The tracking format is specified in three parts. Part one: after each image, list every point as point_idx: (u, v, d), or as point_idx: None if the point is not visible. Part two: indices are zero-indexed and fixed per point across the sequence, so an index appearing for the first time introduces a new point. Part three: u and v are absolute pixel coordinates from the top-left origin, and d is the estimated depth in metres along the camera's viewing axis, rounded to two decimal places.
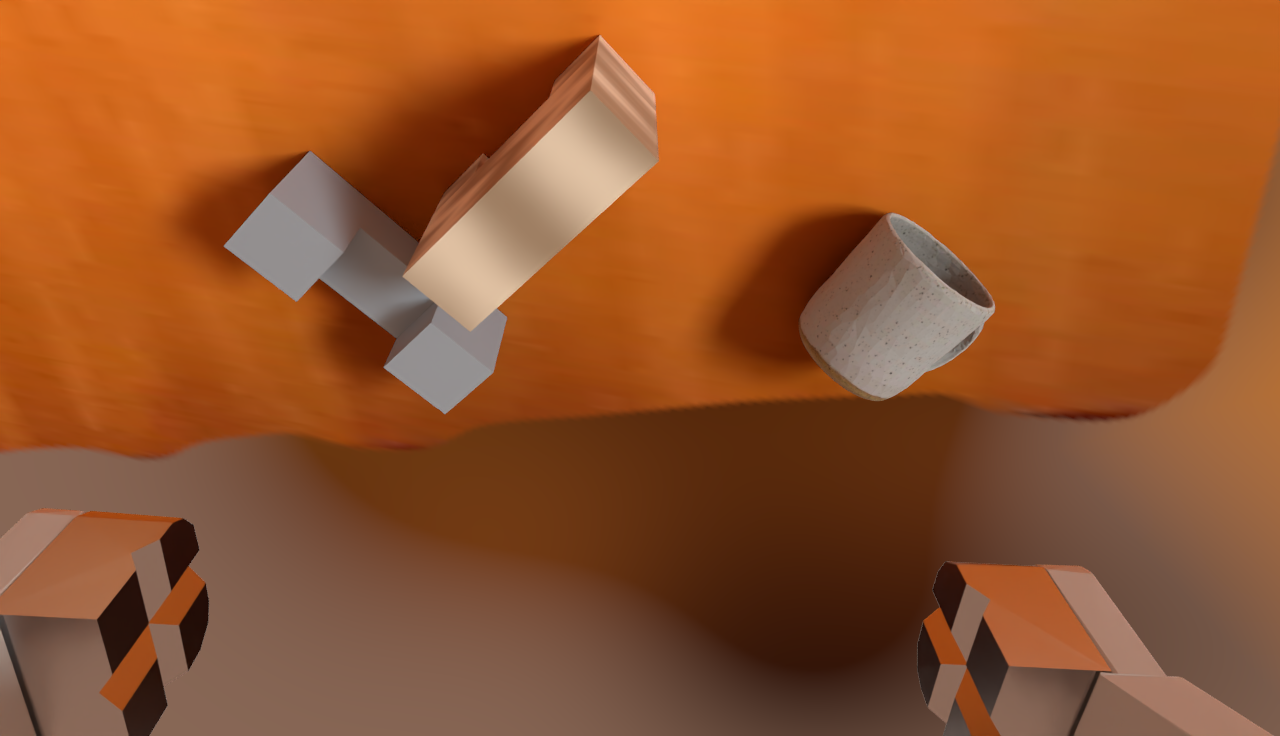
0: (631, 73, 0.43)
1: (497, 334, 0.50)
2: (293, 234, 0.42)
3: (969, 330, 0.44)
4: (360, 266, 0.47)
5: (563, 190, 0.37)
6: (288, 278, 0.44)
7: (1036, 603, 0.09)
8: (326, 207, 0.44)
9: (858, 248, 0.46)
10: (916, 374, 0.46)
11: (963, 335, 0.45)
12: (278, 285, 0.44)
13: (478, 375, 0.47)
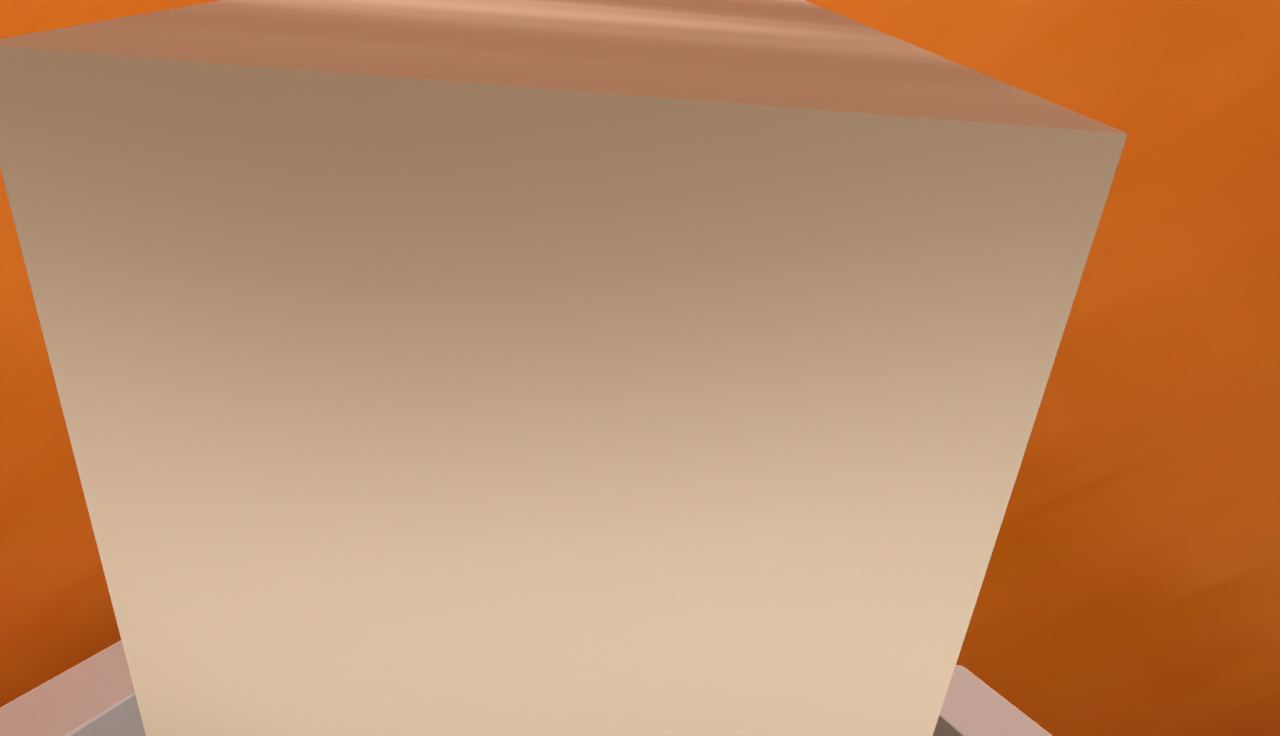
0: None
1: None
2: None
3: None
4: None
5: None
6: None
7: None
8: None
9: None
10: None
11: None
12: None
13: None
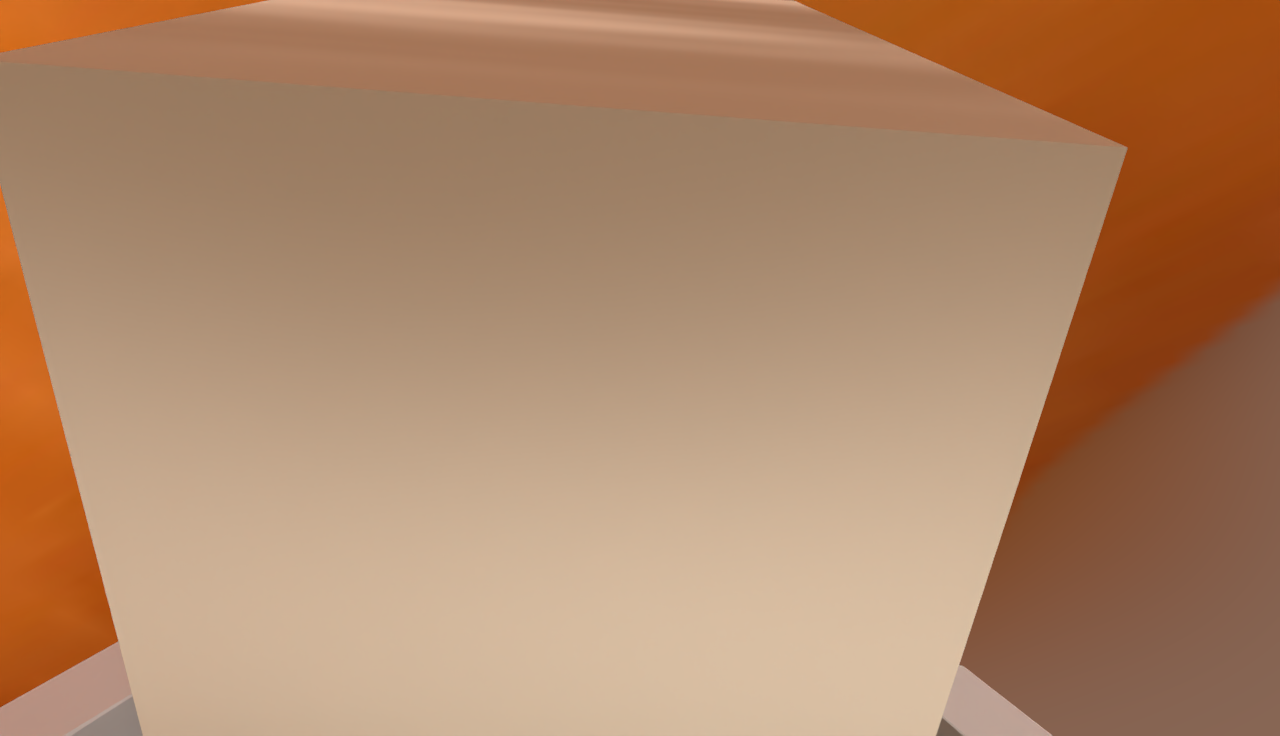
0: None
1: None
2: None
3: None
4: None
5: None
6: None
7: None
8: None
9: None
10: None
11: None
12: None
13: None
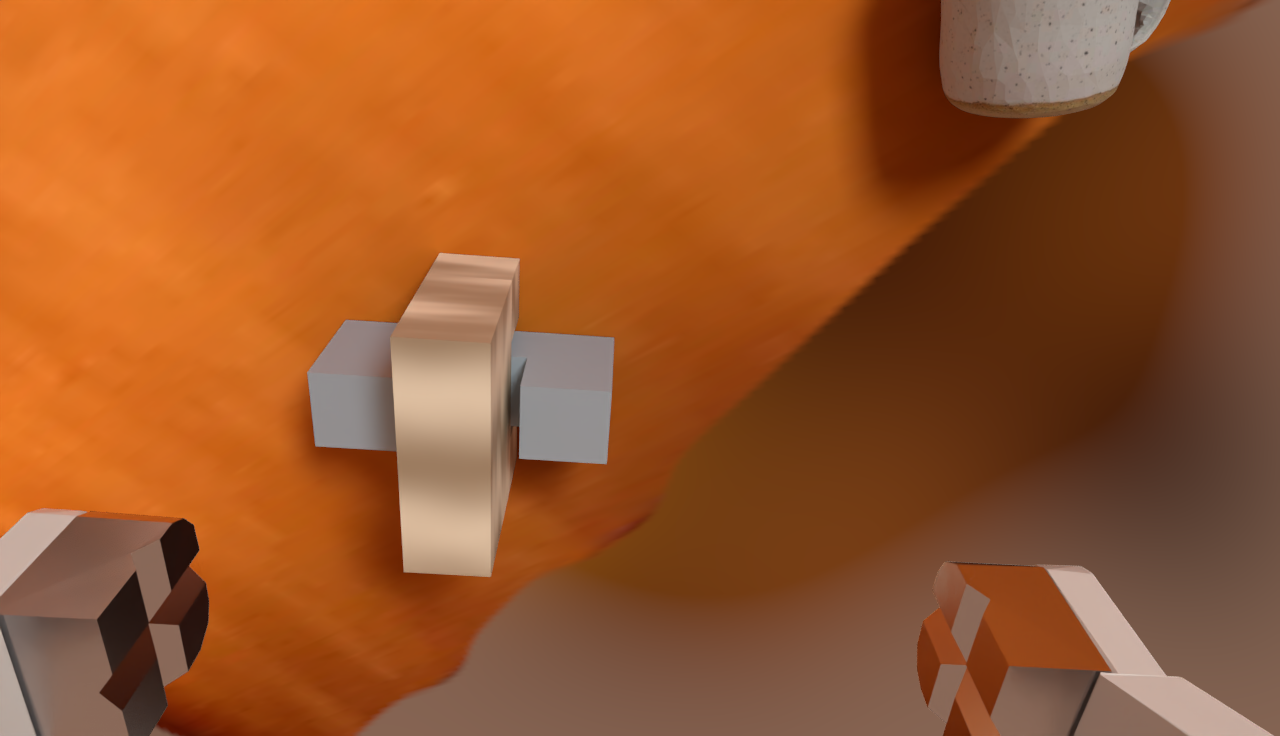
0: (482, 262, 0.43)
1: (606, 357, 0.44)
2: (353, 394, 0.40)
3: None
4: None
5: (446, 422, 0.37)
6: (381, 435, 0.41)
7: (1035, 603, 0.09)
8: (373, 353, 0.42)
9: None
10: (1123, 32, 0.33)
11: None
12: (380, 448, 0.42)
13: (602, 404, 0.41)
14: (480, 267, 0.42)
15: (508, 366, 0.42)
